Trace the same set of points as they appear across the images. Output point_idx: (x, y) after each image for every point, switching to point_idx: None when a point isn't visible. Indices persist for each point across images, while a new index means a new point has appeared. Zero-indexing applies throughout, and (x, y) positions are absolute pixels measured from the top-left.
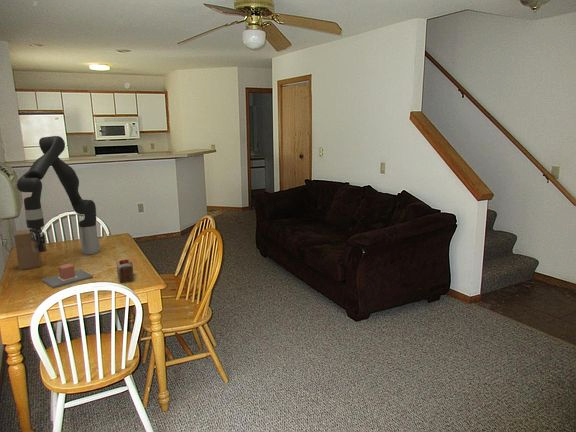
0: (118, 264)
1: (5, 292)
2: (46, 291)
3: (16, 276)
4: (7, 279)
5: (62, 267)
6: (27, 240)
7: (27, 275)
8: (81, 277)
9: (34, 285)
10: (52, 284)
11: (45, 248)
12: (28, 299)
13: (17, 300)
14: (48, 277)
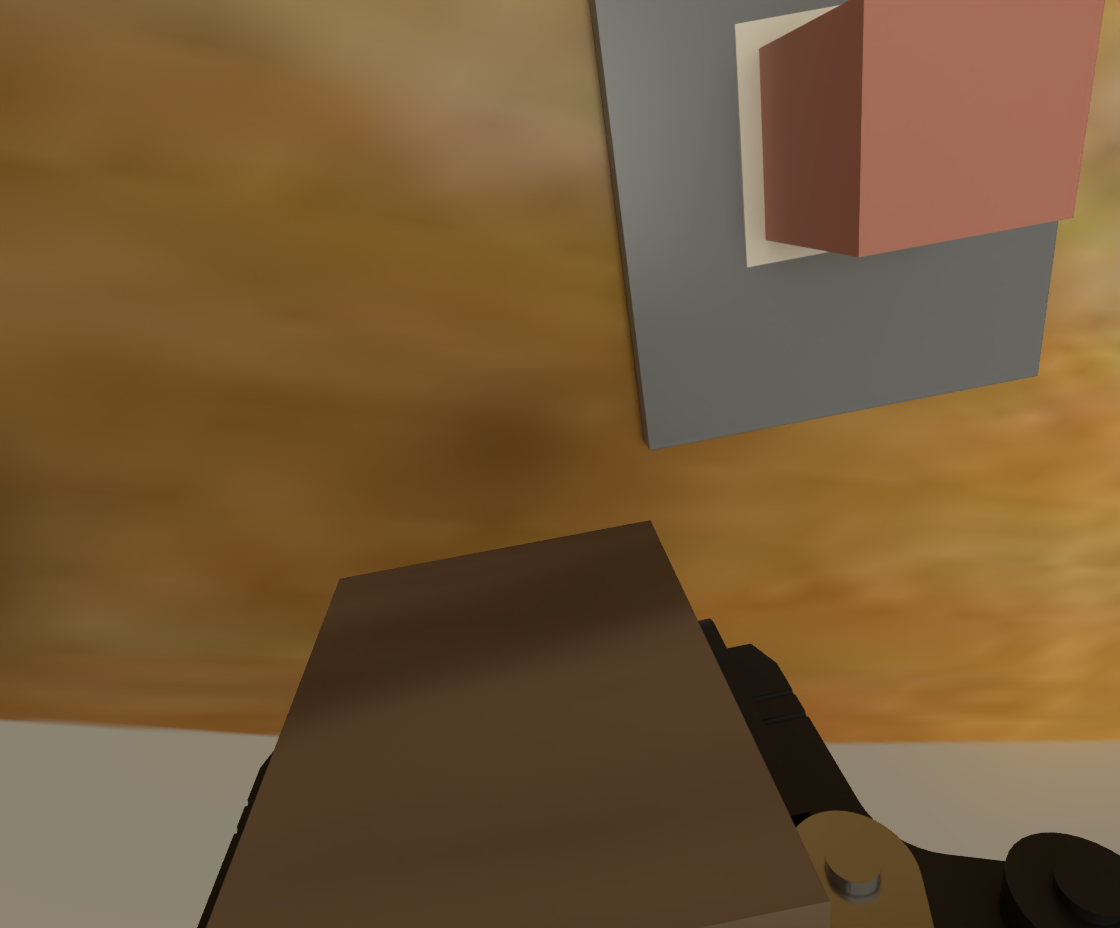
0: None
1: None
2: (1044, 443)
3: (258, 657)
4: None
5: (1005, 201)
6: None
7: (288, 560)
8: None
9: (744, 525)
10: (965, 370)
11: (675, 594)
12: (1101, 597)
13: (1039, 667)
14: (642, 372)
